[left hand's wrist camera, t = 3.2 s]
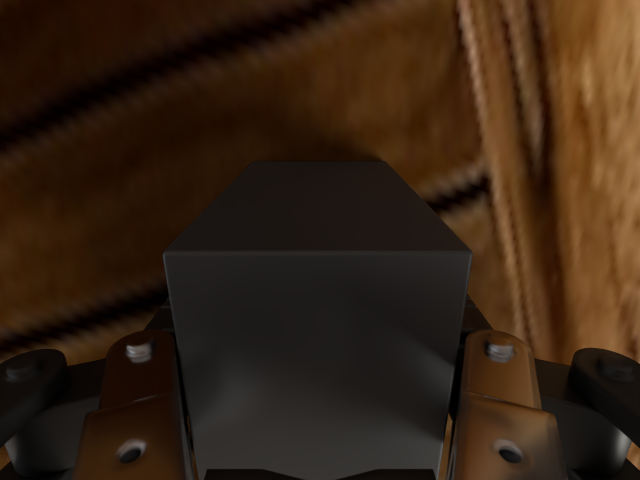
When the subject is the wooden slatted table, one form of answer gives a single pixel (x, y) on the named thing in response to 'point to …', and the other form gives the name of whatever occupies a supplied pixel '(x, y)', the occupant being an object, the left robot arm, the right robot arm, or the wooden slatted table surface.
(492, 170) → the wooden slatted table surface
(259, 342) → the bar
